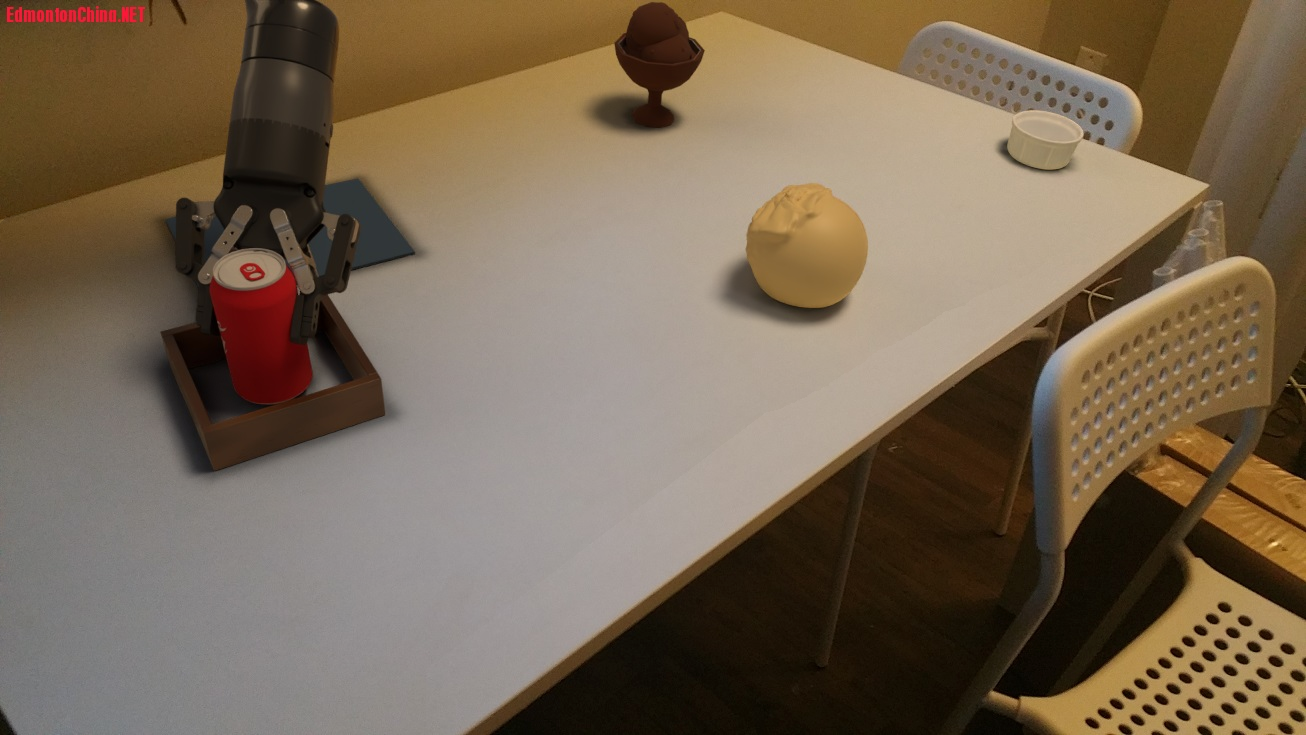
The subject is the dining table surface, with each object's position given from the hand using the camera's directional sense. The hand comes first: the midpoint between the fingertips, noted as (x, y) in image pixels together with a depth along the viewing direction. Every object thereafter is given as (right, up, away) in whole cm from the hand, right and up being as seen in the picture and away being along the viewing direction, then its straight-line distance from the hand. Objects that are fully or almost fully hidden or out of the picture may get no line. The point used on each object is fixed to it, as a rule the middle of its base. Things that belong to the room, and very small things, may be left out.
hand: (255, 338), depth 77 cm
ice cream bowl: (+31, +30, +50) cm, 66 cm away
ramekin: (+81, +25, +51) cm, 99 cm away
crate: (0, -4, +6) cm, 7 cm away
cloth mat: (-6, +11, +23) cm, 26 cm away
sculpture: (+46, +6, +24) cm, 52 cm away
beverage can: (-1, -4, +5) cm, 7 cm away
